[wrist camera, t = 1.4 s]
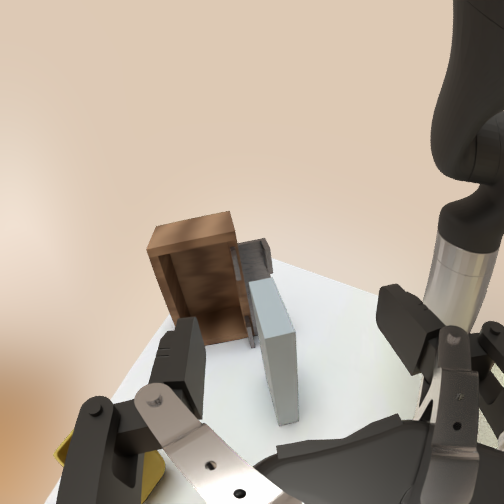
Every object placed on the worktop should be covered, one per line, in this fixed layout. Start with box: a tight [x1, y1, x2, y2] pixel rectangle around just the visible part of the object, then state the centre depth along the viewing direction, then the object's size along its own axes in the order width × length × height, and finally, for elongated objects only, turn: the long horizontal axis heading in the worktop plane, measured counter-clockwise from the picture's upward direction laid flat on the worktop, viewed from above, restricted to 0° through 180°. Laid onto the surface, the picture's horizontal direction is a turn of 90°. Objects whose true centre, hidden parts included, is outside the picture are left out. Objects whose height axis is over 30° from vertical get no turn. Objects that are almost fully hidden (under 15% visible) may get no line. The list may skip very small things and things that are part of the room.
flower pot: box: [53, 429, 165, 504], centre depth 19 cm, size 9×9×9 cm
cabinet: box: [146, 211, 255, 345], centre depth 41 cm, size 11×8×18 cm
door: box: [249, 277, 299, 426], centre depth 27 cm, size 2×8×16 cm, turn 9°
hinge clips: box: [230, 238, 273, 348], centre depth 37 cm, size 5×3×16 cm
